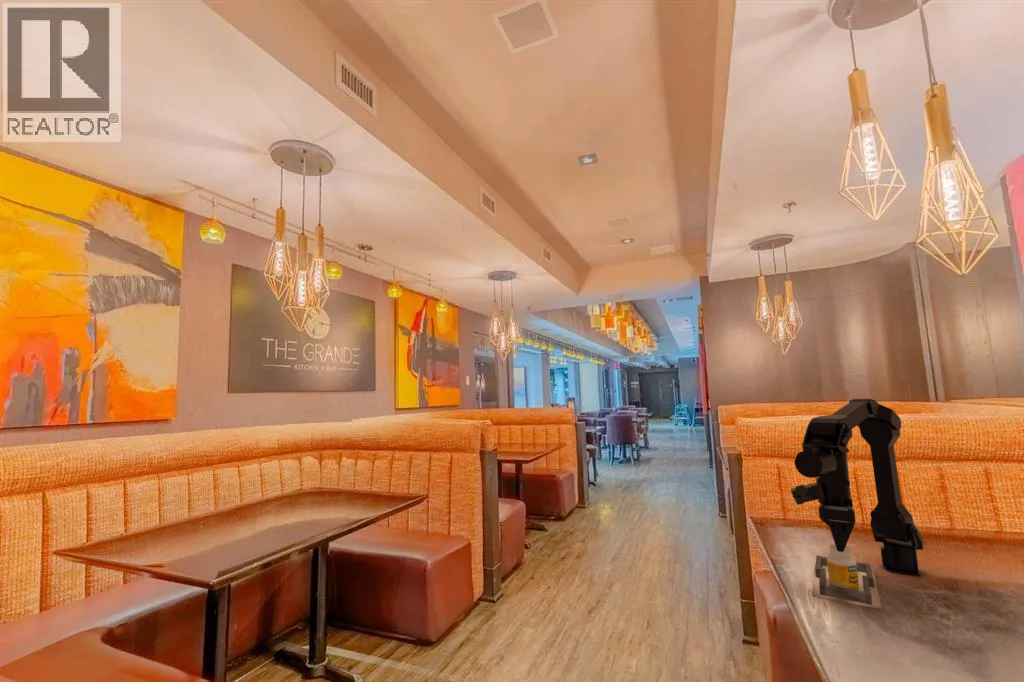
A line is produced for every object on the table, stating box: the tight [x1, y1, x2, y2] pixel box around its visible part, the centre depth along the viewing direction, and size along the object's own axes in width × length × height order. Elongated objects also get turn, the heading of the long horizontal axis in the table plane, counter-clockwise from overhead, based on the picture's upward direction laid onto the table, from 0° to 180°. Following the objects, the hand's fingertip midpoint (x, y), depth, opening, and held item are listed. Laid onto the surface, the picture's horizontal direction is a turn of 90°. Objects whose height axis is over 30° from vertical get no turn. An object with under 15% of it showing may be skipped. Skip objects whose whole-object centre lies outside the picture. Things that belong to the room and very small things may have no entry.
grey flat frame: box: [811, 555, 883, 611], centre depth 105 cm, size 12×22×3 cm, turn 145°
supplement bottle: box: [826, 543, 859, 591], centre depth 100 cm, size 5×5×10 cm
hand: (840, 545), depth 101 cm, fingers open, 9 cm apart
